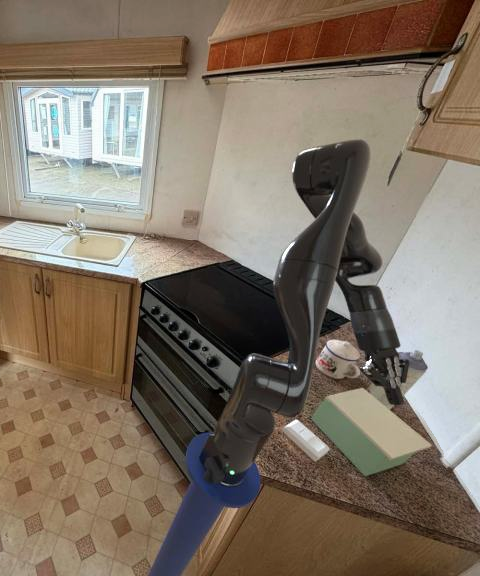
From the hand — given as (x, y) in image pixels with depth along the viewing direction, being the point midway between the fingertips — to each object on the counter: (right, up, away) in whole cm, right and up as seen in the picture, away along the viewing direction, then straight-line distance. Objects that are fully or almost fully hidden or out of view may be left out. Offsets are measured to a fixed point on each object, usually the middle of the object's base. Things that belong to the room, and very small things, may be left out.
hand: (396, 404), depth 70 cm
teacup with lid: (+9, -1, +30) cm, 31 cm away
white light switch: (-16, -13, +9) cm, 22 cm away
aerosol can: (+15, -7, +21) cm, 27 cm away
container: (-1, -13, +10) cm, 17 cm away
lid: (-1, -6, +5) cm, 8 cm away
